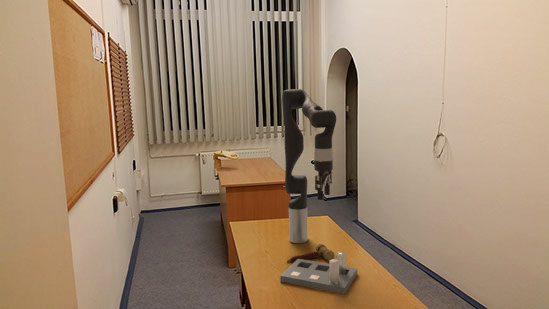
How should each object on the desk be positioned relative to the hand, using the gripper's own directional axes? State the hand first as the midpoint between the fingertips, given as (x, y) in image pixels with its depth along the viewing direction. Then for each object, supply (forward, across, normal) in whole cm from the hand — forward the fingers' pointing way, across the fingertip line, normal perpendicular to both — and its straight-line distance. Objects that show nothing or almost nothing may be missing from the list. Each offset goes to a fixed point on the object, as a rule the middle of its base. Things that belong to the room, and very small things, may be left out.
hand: (323, 197), depth 170 cm
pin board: (+30, +12, +2) cm, 32 cm away
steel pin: (+30, +8, +10) cm, 33 cm away
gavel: (+31, -4, -9) cm, 32 cm away
